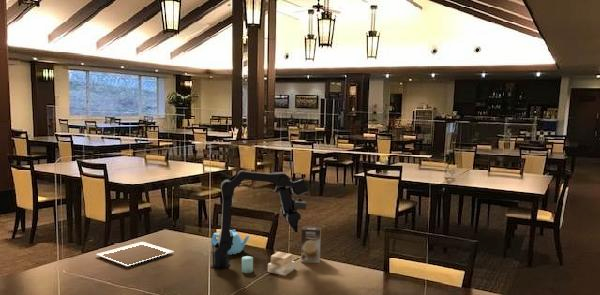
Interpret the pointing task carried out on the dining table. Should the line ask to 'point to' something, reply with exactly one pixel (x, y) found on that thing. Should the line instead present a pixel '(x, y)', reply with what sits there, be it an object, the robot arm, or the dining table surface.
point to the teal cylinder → (247, 264)
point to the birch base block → (281, 268)
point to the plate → (135, 246)
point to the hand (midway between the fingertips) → (294, 229)
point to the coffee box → (310, 244)
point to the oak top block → (281, 258)
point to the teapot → (237, 242)
